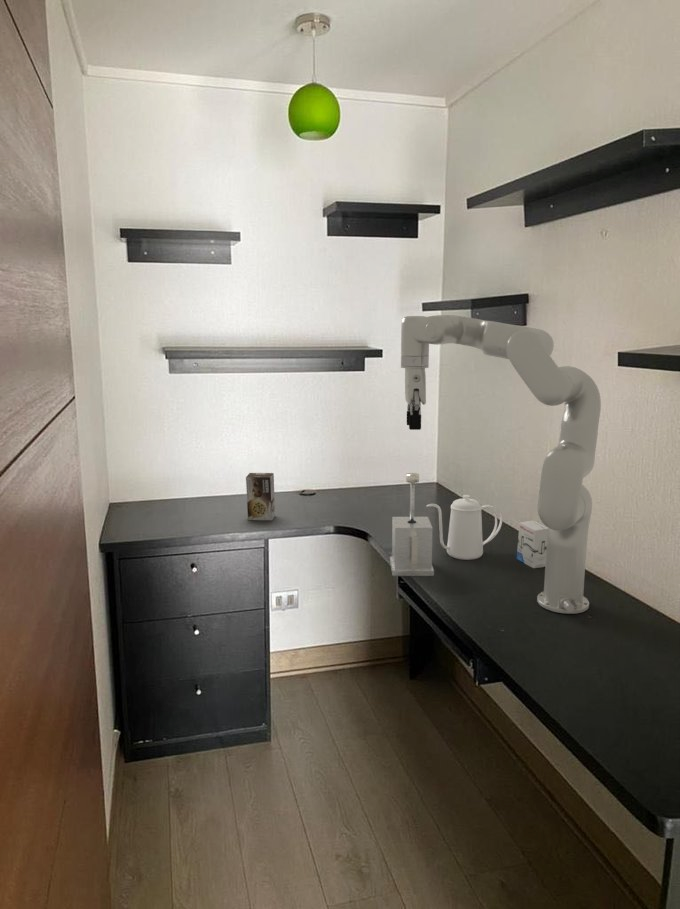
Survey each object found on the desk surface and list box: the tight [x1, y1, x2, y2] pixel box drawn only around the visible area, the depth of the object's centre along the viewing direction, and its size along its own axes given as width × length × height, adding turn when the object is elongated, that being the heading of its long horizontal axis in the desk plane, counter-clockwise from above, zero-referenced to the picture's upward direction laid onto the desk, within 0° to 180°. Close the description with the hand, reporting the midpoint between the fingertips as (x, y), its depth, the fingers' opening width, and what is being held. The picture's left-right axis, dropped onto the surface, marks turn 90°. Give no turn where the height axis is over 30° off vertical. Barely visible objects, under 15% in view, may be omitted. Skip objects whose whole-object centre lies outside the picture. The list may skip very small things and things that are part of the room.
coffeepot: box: [425, 494, 504, 561], centre depth 208 cm, size 11×25×19 cm, turn 105°
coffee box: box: [245, 472, 276, 521], centre depth 247 cm, size 9×6×16 cm
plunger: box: [405, 472, 420, 523], centre depth 196 cm, size 7×7×18 cm
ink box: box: [516, 520, 548, 569], centre depth 202 cm, size 9×5×12 cm, turn 21°
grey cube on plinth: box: [389, 516, 435, 577], centre depth 197 cm, size 14×12×14 cm
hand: (413, 426), depth 191 cm, fingers open, 6 cm apart
